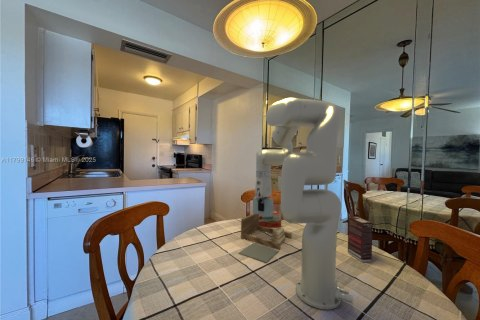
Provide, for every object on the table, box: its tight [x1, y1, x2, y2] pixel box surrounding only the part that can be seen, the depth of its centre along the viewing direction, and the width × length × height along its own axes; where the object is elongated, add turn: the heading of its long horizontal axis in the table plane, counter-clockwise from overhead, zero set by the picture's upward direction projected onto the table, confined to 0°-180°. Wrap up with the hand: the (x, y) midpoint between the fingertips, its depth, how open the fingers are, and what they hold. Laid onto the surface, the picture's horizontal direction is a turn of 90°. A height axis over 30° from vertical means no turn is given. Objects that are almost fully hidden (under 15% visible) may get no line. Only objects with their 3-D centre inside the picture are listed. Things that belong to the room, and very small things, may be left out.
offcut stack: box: [270, 227, 286, 245], centre depth 98 cm, size 4×8×6 cm, turn 146°
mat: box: [238, 242, 279, 264], centre depth 85 cm, size 13×12×1 cm
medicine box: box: [259, 210, 282, 229], centre depth 120 cm, size 15×8×8 cm, turn 104°
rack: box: [240, 213, 293, 251], centre depth 101 cm, size 21×16×10 cm
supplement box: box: [347, 216, 373, 263], centre depth 83 cm, size 9×5×16 cm, turn 9°
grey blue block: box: [252, 196, 274, 216], centre depth 102 cm, size 10×4×8 cm, turn 56°
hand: (262, 209), depth 102 cm, fingers closed on grey blue block, 3 cm apart
